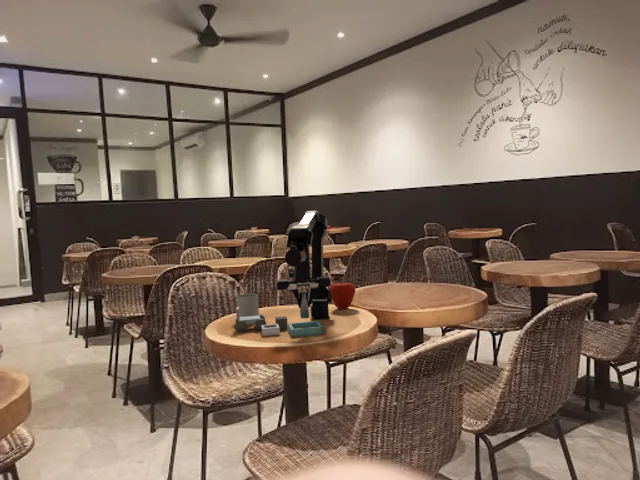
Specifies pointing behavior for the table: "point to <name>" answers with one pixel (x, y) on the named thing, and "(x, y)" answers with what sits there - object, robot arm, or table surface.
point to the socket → (270, 329)
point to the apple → (342, 294)
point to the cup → (248, 305)
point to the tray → (305, 328)
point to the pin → (304, 304)
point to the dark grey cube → (281, 322)
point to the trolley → (248, 321)
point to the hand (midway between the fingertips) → (304, 307)
